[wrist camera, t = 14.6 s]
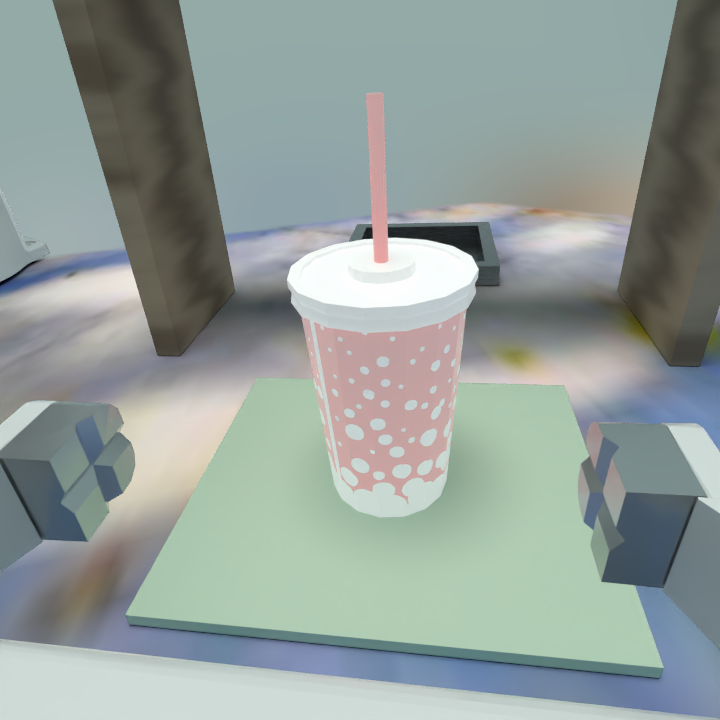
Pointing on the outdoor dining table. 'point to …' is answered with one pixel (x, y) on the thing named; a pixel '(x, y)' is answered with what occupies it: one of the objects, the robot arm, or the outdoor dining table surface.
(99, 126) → the walnut tunnel
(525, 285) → the outdoor dining table surface
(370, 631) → the sage pad
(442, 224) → the tray
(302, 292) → the beverage cup
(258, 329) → the outdoor dining table surface
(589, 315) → the outdoor dining table surface
